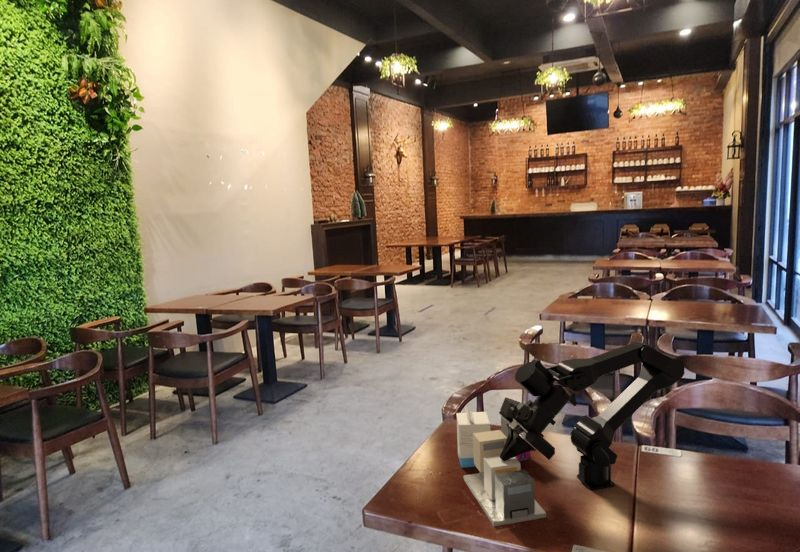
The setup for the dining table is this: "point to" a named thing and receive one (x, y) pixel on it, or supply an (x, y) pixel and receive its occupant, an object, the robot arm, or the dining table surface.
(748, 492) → the dining table surface
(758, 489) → the dining table surface
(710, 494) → the dining table surface
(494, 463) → the block
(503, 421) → the supplement box
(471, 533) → the dining table surface
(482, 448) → the block
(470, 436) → the ink box
